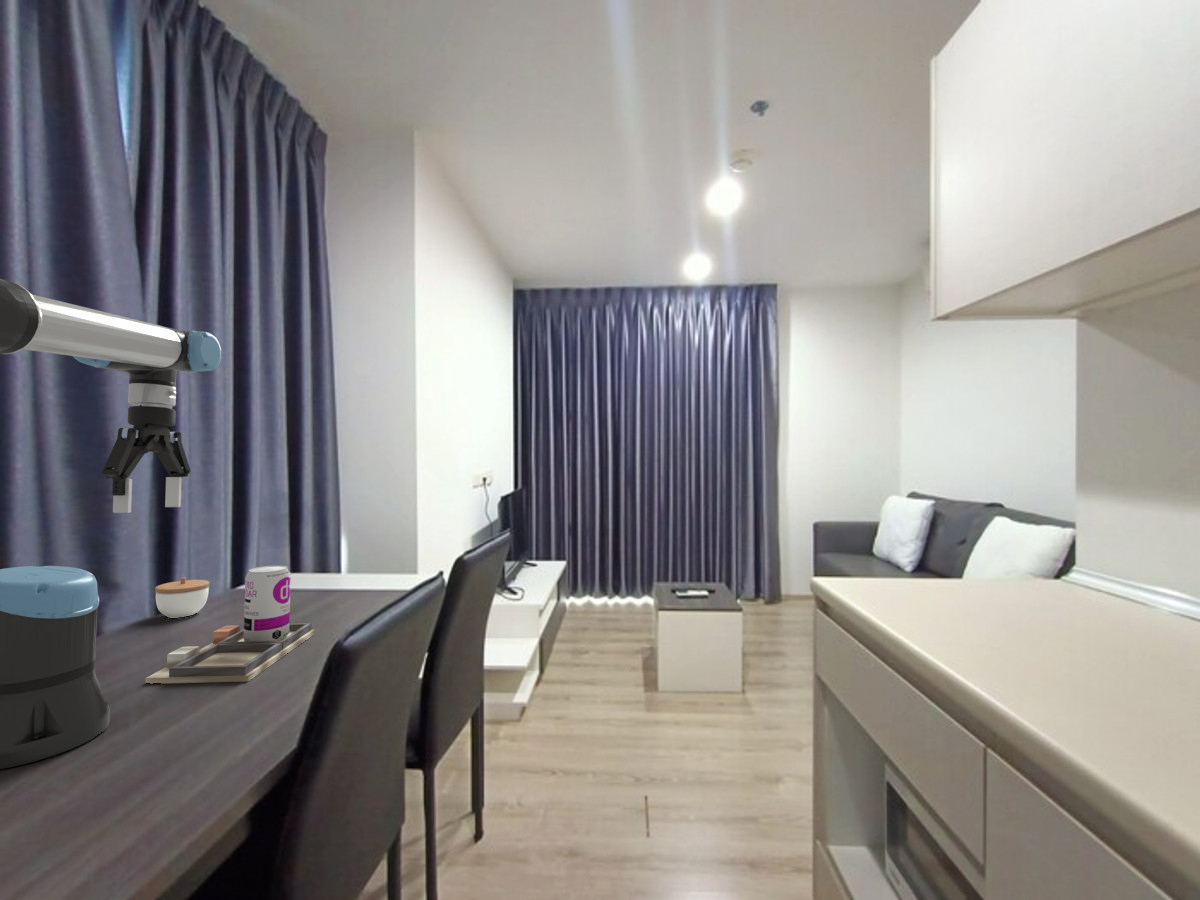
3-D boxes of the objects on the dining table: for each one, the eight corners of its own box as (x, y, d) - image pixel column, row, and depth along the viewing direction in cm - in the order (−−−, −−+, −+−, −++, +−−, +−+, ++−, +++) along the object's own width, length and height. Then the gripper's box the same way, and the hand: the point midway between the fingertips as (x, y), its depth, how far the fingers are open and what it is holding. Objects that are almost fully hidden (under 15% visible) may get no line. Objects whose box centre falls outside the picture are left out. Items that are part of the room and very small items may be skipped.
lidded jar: (144, 622, 126) (145, 583, 126) (169, 610, 136) (170, 574, 136) (195, 620, 128) (197, 581, 128) (216, 608, 139) (217, 572, 139)
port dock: (248, 681, 93) (248, 661, 93) (145, 683, 91) (145, 663, 91) (315, 633, 119) (315, 618, 119) (235, 635, 117) (236, 619, 117)
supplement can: (297, 634, 115) (299, 565, 116) (270, 647, 107) (272, 573, 107) (262, 632, 116) (264, 564, 116) (233, 645, 108) (235, 572, 108)
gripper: (122, 399, 96) (118, 515, 96) (211, 413, 121) (208, 505, 121) (78, 398, 96) (74, 515, 95) (176, 412, 121) (173, 504, 120)
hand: (149, 509), depth 108 cm, fingers open, 13 cm apart
